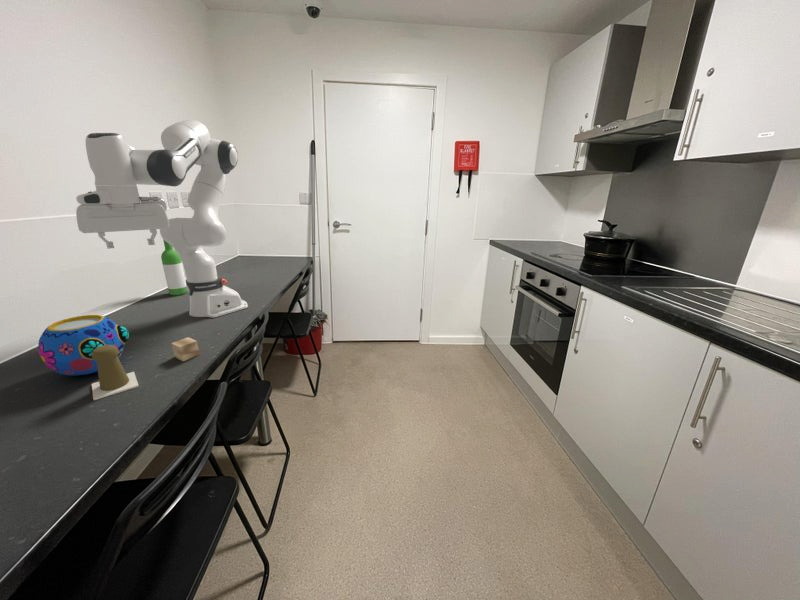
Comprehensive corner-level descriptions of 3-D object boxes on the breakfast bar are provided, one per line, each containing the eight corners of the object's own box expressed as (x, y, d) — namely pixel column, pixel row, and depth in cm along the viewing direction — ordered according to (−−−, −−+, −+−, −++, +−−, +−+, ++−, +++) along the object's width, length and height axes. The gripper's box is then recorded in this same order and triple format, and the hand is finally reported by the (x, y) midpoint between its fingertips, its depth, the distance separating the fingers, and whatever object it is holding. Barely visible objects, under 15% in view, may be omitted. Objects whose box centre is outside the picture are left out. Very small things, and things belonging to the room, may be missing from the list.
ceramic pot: (95, 387, 86) (78, 336, 81) (30, 385, 87) (9, 334, 82) (145, 355, 103) (133, 311, 98) (90, 354, 103) (75, 310, 98)
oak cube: (191, 351, 106) (188, 337, 105) (199, 355, 104) (196, 340, 102) (174, 357, 102) (171, 343, 101) (183, 361, 100) (179, 347, 98)
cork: (112, 392, 84) (99, 354, 80) (93, 388, 85) (81, 351, 81) (135, 379, 89) (124, 343, 86) (117, 376, 90) (106, 340, 87)
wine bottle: (168, 297, 156) (154, 234, 146) (170, 292, 163) (156, 232, 153) (187, 294, 160) (174, 233, 150) (188, 290, 166) (176, 231, 156)
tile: (134, 373, 93) (133, 371, 93) (138, 386, 87) (138, 384, 87) (92, 385, 87) (91, 383, 87) (93, 400, 81) (93, 398, 81)
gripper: (162, 196, 99) (171, 241, 104) (69, 196, 86) (84, 248, 90) (166, 197, 95) (176, 244, 99) (69, 197, 81) (85, 252, 86)
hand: (132, 246), depth 95 cm, fingers open, 8 cm apart
